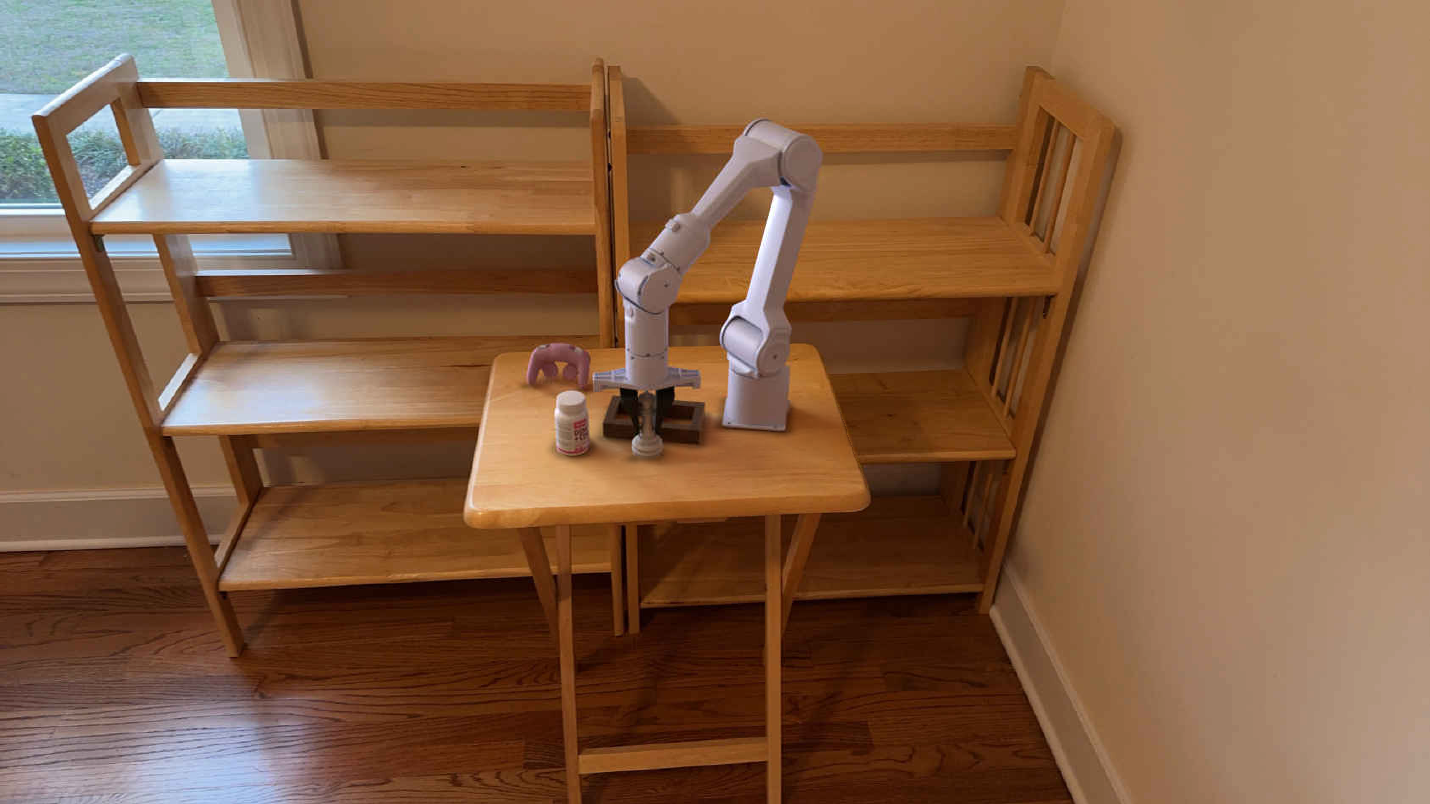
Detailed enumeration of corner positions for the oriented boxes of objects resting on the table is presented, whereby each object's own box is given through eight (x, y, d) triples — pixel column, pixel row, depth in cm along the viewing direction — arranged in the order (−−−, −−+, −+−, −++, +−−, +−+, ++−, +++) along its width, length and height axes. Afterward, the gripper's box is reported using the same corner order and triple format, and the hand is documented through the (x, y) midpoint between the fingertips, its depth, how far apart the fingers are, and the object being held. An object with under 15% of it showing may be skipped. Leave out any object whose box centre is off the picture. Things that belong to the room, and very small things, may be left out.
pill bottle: (580, 459, 135) (578, 409, 131) (550, 452, 137) (547, 402, 132) (595, 442, 139) (593, 393, 135) (566, 435, 140) (563, 386, 136)
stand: (704, 416, 146) (705, 402, 145) (699, 444, 139) (699, 430, 138) (612, 408, 147) (612, 395, 146) (603, 437, 140) (602, 423, 139)
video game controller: (591, 388, 155) (594, 345, 154) (585, 390, 150) (588, 346, 149) (531, 383, 155) (533, 340, 155) (523, 385, 151) (526, 341, 150)
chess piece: (666, 457, 135) (666, 397, 130) (635, 461, 134) (634, 401, 129) (658, 440, 139) (658, 381, 133) (629, 444, 138) (627, 385, 132)
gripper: (698, 330, 132) (695, 413, 139) (591, 333, 130) (595, 417, 137) (703, 356, 126) (700, 441, 133) (592, 359, 124) (595, 445, 131)
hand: (647, 431), depth 135 cm, fingers closed on chess piece, 2 cm apart
